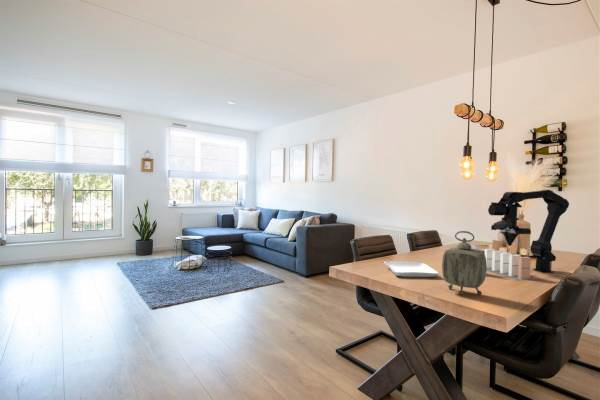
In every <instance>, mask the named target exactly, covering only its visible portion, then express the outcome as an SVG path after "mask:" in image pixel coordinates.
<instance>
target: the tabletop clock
mask: <svg viewBox="0 0 600 400" xmlns="http://www.w3.org/2000/svg"><path fill="white" fill-rule="evenodd" d="M463 233H465V234H468V235H471V237H472V238H471V239H468V240H467V239H466V238H465V237H463V238H462V239H461V238H458V237H457V235H459V234H463ZM454 237H455V239H456V240H457V241H460V242H459V243H458V244H457V246H455V247H454V246H453V247H451V248H449V249H446V250H444V253H443V255H442V262H441V268H442V270H441V271H442V272H441V273H442V277H443V281H445V282H446V283H448V284H449V285H448V286H447V287H448V289H450V290H452V289H453V288H454V287H453V286H457V287H460V290H459V291H458V294H459V296H460V295H462V296H463V295H464V291H463V289H464V288H469V289H475V290H476V295H479V296H481V295H482V291H481V290H479V288H480V287H481V286H482V285H483V283H484V282H485V280H486V276H487V271H486V270H487V266H486V257H485V251H484V252H483V251H482V250H479V249H477V248H476V249H471V244H470V243H469V242H473V241H475V234H473V233H472V232H470V231H468V230H461V231H457V232H456V233H455V234H454Z"/></svg>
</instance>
